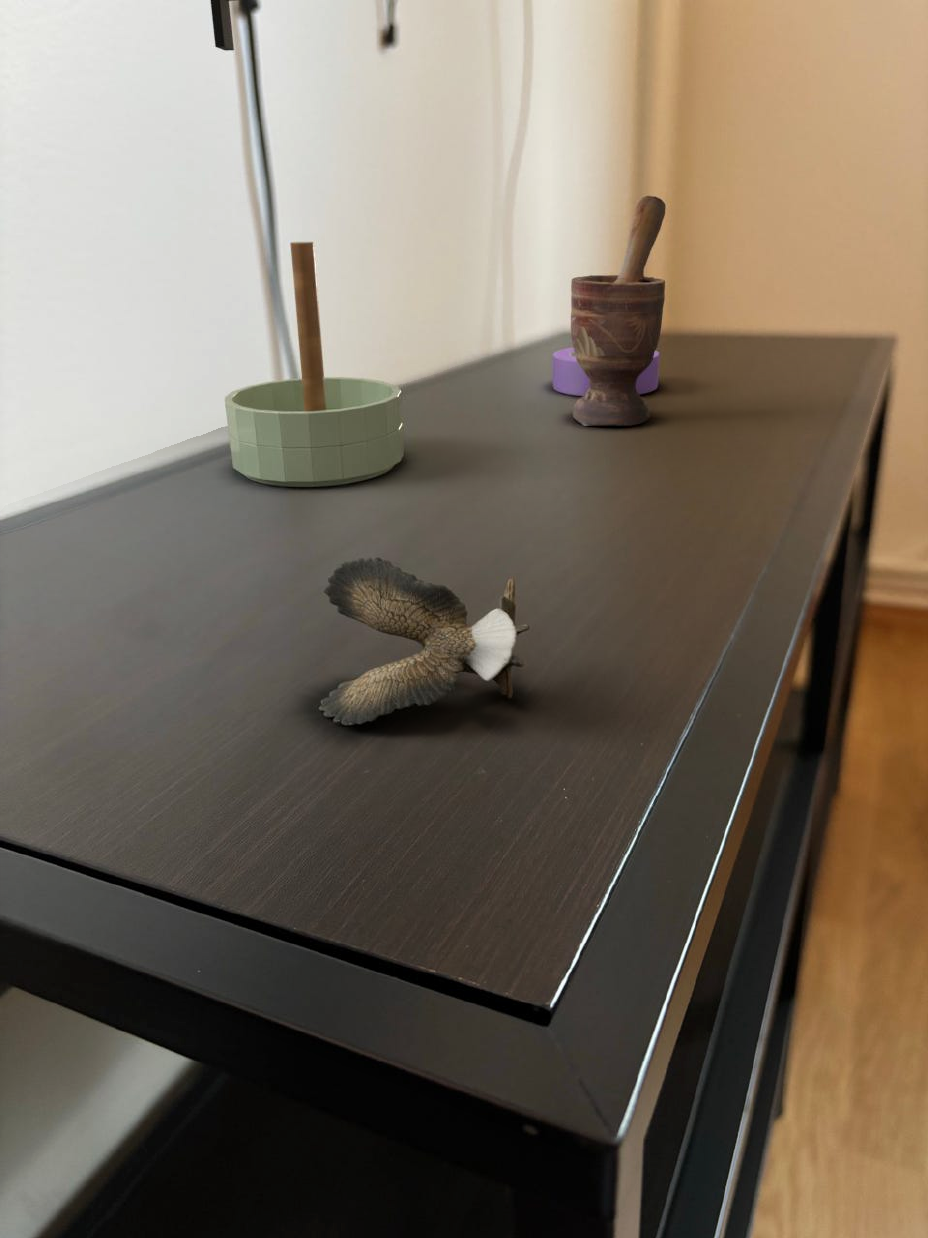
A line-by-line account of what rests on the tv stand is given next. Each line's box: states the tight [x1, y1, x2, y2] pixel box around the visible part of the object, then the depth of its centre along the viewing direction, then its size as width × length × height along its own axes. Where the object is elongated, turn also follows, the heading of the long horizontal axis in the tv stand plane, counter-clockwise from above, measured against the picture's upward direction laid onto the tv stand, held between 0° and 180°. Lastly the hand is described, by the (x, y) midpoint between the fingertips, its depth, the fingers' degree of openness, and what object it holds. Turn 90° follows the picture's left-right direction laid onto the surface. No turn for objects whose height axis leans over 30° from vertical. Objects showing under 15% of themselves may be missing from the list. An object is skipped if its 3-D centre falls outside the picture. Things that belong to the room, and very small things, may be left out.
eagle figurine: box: [318, 556, 530, 726], centre depth 45 cm, size 8×7×9 cm
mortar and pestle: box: [570, 195, 667, 427], centre depth 94 cm, size 12×9×20 cm
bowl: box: [224, 376, 405, 488], centre depth 82 cm, size 14×14×6 cm
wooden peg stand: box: [289, 241, 327, 411], centre depth 80 cm, size 6×6×17 cm
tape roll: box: [552, 347, 660, 397], centre depth 110 cm, size 12×12×4 cm
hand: (142, 51), depth 80 cm, fingers open, 13 cm apart
